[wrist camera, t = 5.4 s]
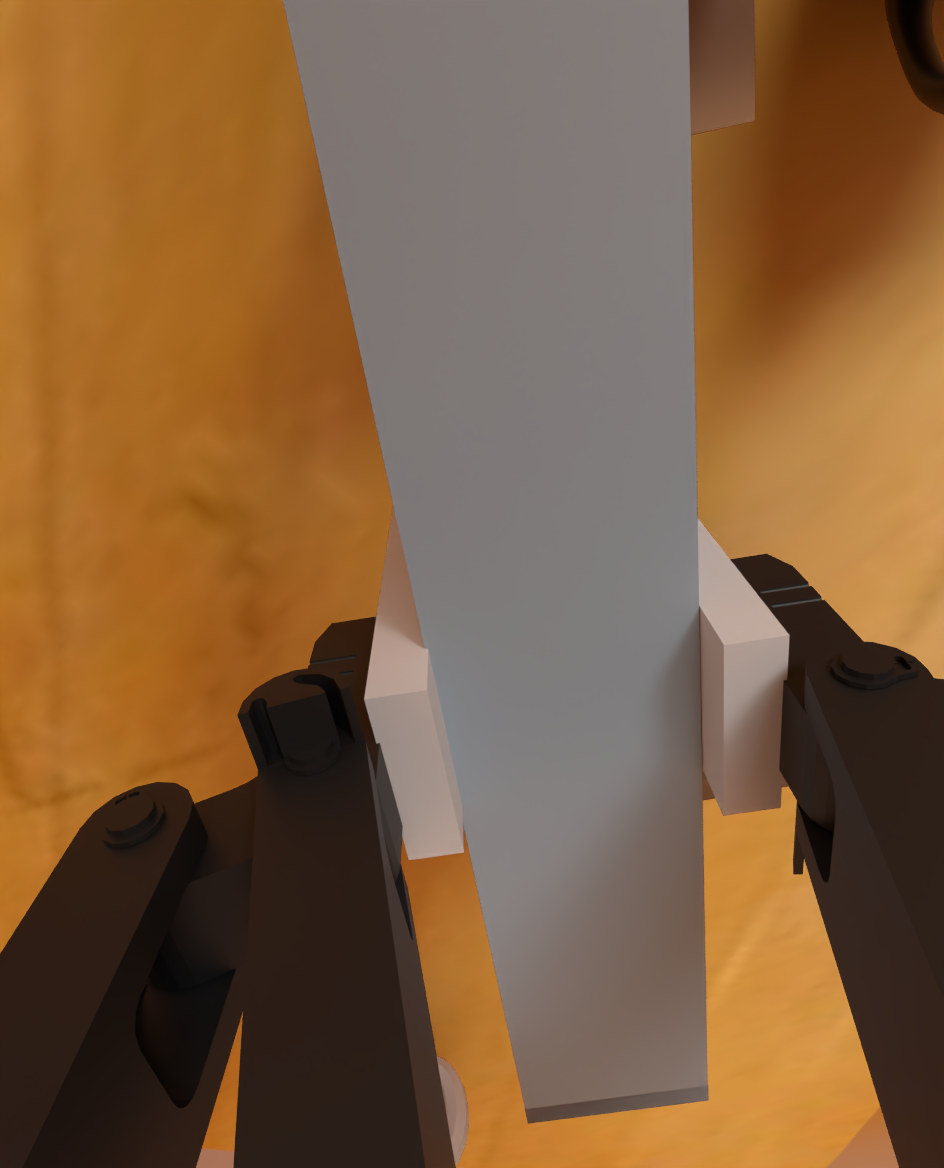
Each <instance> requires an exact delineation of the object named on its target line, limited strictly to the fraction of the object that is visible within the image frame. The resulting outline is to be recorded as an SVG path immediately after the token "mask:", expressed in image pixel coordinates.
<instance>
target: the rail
mask: <svg viewBox="0 0 944 1168" xmlns="http://www.w3.org/2000/svg"><path fill="white" fill-rule="evenodd" d="M283 3H284V7H285V12H286V16H287V21H288V26H289V30H290V35H291V39H292V44H293V48H294V53H295V58H296V62H297V67H298V71H299V76H300V80H301V85H302V90H303V94H304V99H305V103H306V108H307V112H308V117H309V122H310V126H311V131H312V135H313V140H314V144H315V149H316V154H317V158H318V163H319V167H320V172H321V176H322V181H323V186H324V190H325V195H326V199H327V204H328V208H329V213H330V218H331V222H332V227H333V231H334V236H335V240H336V245H337V250H338V254H339V259H340V263H341V268H342V273H343V277H344V282H345V286H346V291H347V295H348V300H349V305H350V309H351V314H352V318H353V323H354V327H355V332H356V337H357V341H358V346H359V350H360V355H361V359H362V364H363V369H364V373H365V378H366V382H367V387H368V391H369V396H370V401H371V405H372V410H373V414H374V419H375V423H376V428H377V433H378V437H379V442H380V446H381V451H382V455H383V460H384V465H385V469H386V474H387V478H388V483H389V488H390V492H391V497H392V501H393V506H394V510H395V515H396V520H397V524H398V529H399V533H400V538H401V542H402V547H403V552H404V556H405V561H406V565H407V570H408V574H409V579H410V584H411V588H412V593H413V597H414V602H415V606H416V611H417V616H418V620H419V625H420V629H421V634H422V638H423V643H424V648H425V649H428V650H429V655H430V659H431V664H432V668H433V673H434V678H435V682H436V687H437V691H438V696H439V701H440V705H441V710H442V714H443V719H444V724H445V728H446V733H447V738H448V742H449V747H450V751H451V756H452V761H453V765H454V770H455V774H456V779H457V784H458V788H459V793H460V797H461V802H462V812H463V826H464V831H465V835H466V840H467V844H468V849H469V853H470V858H471V863H472V867H473V872H474V876H475V881H476V885H477V890H478V895H479V899H480V904H481V908H482V913H483V917H484V922H485V927H486V931H487V936H488V940H489V945H490V949H491V954H492V959H493V963H494V968H495V972H496V977H497V982H498V986H499V991H500V995H501V1000H502V1004H503V1009H504V1014H505V1018H506V1023H507V1027H508V1032H509V1036H510V1041H511V1046H512V1050H513V1055H514V1059H515V1064H516V1068H517V1073H518V1078H519V1082H520V1087H521V1091H522V1096H523V1100H524V1105H525V1112H526V1117H527V1121H528V1123H535V1122H543V1121H551V1120H559V1119H567V1118H574V1117H582V1116H590V1115H598V1114H606V1113H614V1112H621V1111H629V1110H637V1109H645V1108H653V1107H660V1106H668V1105H676V1104H684V1103H692V1102H699V1101H707V1100H708V1080H707V1024H706V967H705V911H704V854H703V798H702V742H701V685H700V629H699V572H698V516H697V459H696V403H695V346H694V290H693V233H692V177H691V121H690V64H689V8H688V0H283Z"/></svg>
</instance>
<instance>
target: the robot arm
mask: <svg viewBox="0 0 944 1168" xmlns="http://www.w3.org/2000/svg"><path fill="white" fill-rule="evenodd" d="M698 572H699V629H700V685H701V742H702V769H703V772H704V774H705V776H706V778H707V780H708V783H709V785H710V787H711V789H712V791H713V794H714V796H715V798H716V800H717V803H718V805H719V807H720V809H721V811H722V814H723V816H725V815H732V814H739V813H746V812H753V811H760V810H767V809H774V808H781V789H782V775H783V777H784V779H785V780H786V782H787V784H788V786H789V787H790V789H791V791H792V792H793V794H794V796H795V798H796V799H797V808H796V823H795V838H794V854H793V874H803V863H804V859H805V862H806V866H807V869H808V872H809V875H810V879H811V882H812V885H813V888H814V892H815V895H816V898H817V902H818V905H819V908H820V911H821V915H822V918H823V921H824V924H825V928H826V931H827V934H828V937H829V941H830V944H831V947H832V950H833V954H834V957H835V960H836V963H837V967H838V970H839V973H840V976H841V980H842V983H843V986H844V989H845V993H846V996H847V999H848V1002H849V1006H850V1009H851V1012H852V1015H853V1019H854V1022H855V1025H856V1028H857V1032H858V1035H859V1038H860V1041H861V1045H862V1048H863V1051H864V1054H865V1058H866V1061H867V1064H868V1067H869V1071H870V1074H871V1077H872V1081H873V1084H874V1087H875V1090H876V1094H877V1097H878V1100H879V1103H880V1107H881V1110H882V1113H883V1116H884V1119H885V1123H886V1126H887V1129H888V1133H889V1136H890V1139H891V1142H892V1146H893V1149H894V1152H895V1155H896V1158H897V1162H898V1165H899V1168H944V679H935V678H933V676H932V675H931V673H930V672H929V670H928V669H927V668H926V667H925V666H924V665H923V664H922V663H921V662H920V661H919V660H917V659H916V658H915V657H914V656H912V655H909V654H907V653H905V652H903V651H901V650H899V649H897V648H894V647H890V646H886V645H882V644H878V643H874V642H863V641H862V639H861V638H860V637H859V636H858V635H857V634H856V633H855V632H854V631H853V630H852V629H851V628H850V627H849V626H848V625H847V623H846V622H845V621H844V620H843V619H842V618H841V617H840V616H839V615H838V614H837V613H836V612H835V611H834V610H833V609H832V607H831V606H830V605H829V604H828V603H827V602H826V601H825V600H822V599H821V596H820V595H819V594H818V593H817V591H816V590H815V589H814V588H813V587H812V586H809V585H808V582H807V581H806V580H805V579H804V578H803V577H802V575H801V574H800V573H799V572H798V571H797V570H796V569H795V568H794V567H793V566H791V565H789V564H787V563H785V562H783V561H781V560H779V559H776V558H774V557H772V556H770V555H768V554H762V555H756V556H749V557H743V558H736V559H729V557H728V556H727V555H726V554H725V552H724V551H723V550H722V549H721V547H720V546H719V545H718V543H717V542H716V541H715V540H714V538H713V537H712V536H711V534H710V533H709V532H708V531H707V529H706V528H705V527H704V526H703V524H702V523H701V522H700V520H699V519H698ZM238 718H239V721H240V723H241V726H242V728H243V731H244V734H245V736H246V739H247V742H248V744H249V747H250V749H251V752H252V755H253V757H254V760H255V763H256V765H257V768H258V776H257V777H255V778H254V779H252V780H251V781H249V782H247V783H245V784H243V785H241V786H239V787H237V788H234V789H232V790H230V791H227V792H224V793H222V794H219V795H216V796H214V797H211V798H208V799H206V800H203V801H200V802H198V803H195V804H194V802H193V800H192V798H191V795H190V793H189V791H188V789H186V788H184V787H182V786H180V785H178V784H176V783H166V782H155V783H151V784H147V785H143V786H138V787H135V788H133V789H131V790H128V791H127V792H124V793H122V794H120V795H118V796H116V797H114V798H113V799H111V800H110V801H108V802H107V803H106V804H104V805H103V806H102V807H100V808H99V809H98V810H96V811H95V812H94V813H93V814H92V815H91V816H90V818H89V819H88V820H87V821H86V822H85V823H84V825H83V826H82V827H81V828H80V829H79V831H78V833H77V834H76V836H75V837H74V839H73V840H72V842H71V844H70V845H69V847H68V848H67V850H66V851H65V853H64V855H63V856H62V858H61V859H60V861H59V862H58V864H57V866H56V867H55V869H54V870H53V872H52V873H51V875H50V877H49V878H48V880H47V881H46V883H45V884H44V886H43V888H42V889H41V891H40V892H39V894H38V895H37V897H36V899H35V900H34V902H33V903H32V905H31V906H30V908H29V910H28V911H27V913H26V914H25V916H24V917H23V919H22V921H21V922H20V924H19V925H18V927H17V928H16V930H15V932H14V933H13V935H12V936H11V938H10V939H9V941H8V943H7V944H6V946H5V947H4V949H3V950H2V952H1V954H0V1168H196V1165H197V1162H198V1158H199V1155H200V1152H201V1149H202V1145H203V1142H204V1139H205V1135H206V1132H207V1129H208V1125H209V1122H210V1119H211V1115H212V1112H213V1109H214V1105H215V1102H216V1099H217V1095H218V1092H219V1089H220V1085H221V1082H222V1079H223V1075H224V1072H225V1069H226V1065H227V1062H228V1059H229V1055H230V1052H231V1049H232V1045H233V1042H234V1039H235V1035H236V1032H237V1029H238V1025H239V1022H240V1019H241V1016H242V1012H243V1022H242V1038H241V1055H240V1071H239V1087H238V1104H237V1120H236V1136H235V1152H234V1168H456V1166H455V1160H454V1155H453V1149H452V1143H451V1137H450V1131H449V1125H448V1120H447V1114H446V1108H445V1102H444V1096H443V1091H442V1085H441V1079H440V1073H439V1067H438V1062H437V1056H436V1050H435V1044H434V1038H433V1033H432V1027H431V1021H430V1015H429V1009H428V1004H427V998H426V992H425V986H424V980H423V974H422V969H421V963H420V957H419V951H418V945H417V940H416V934H415V928H414V922H413V916H412V911H411V905H410V899H409V893H408V887H407V884H406V881H405V877H404V874H403V870H402V867H401V846H402V838H403V841H404V845H405V849H406V852H407V856H408V859H409V860H415V859H422V858H429V857H436V856H443V855H450V854H457V853H464V839H463V812H462V802H461V797H460V793H459V788H458V784H457V779H456V774H455V770H454V765H453V761H452V756H451V751H450V747H449V742H448V738H447V733H446V728H445V724H444V719H443V714H442V710H441V705H440V701H439V696H438V691H437V687H436V682H435V678H434V673H433V668H432V664H431V659H430V655H429V650H428V649H425V648H424V643H423V638H422V634H421V629H420V625H419V620H418V616H417V611H416V606H415V602H414V597H413V593H412V588H411V584H410V579H409V574H408V570H407V565H406V561H405V556H404V552H403V547H402V542H401V538H400V533H399V529H398V524H397V520H396V515H395V510H394V506H393V509H392V515H391V522H390V529H389V536H388V542H387V549H386V556H385V562H384V569H383V576H382V583H381V589H380V596H379V603H378V609H377V616H376V617H371V618H364V619H358V620H351V621H345V622H339V623H332V624H331V625H330V626H329V627H328V629H327V630H326V631H325V632H324V633H323V634H322V635H321V636H320V637H319V638H318V640H317V641H316V642H315V644H314V648H313V651H312V655H311V659H310V665H309V666H308V669H301V670H294V671H291V672H289V673H286V674H283V675H280V676H277V677H275V678H273V679H271V680H269V681H268V682H266V683H264V684H263V685H261V686H259V687H258V688H256V689H255V690H254V691H253V692H252V693H251V694H250V695H249V696H248V697H247V698H246V699H245V700H244V701H243V703H242V705H241V708H240V710H239V713H238Z"/></svg>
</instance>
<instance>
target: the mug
mask: <svg viewBox="0 0 944 1168" xmlns="http://www.w3.org/2000/svg"><path fill="white" fill-rule="evenodd" d="M933 2H934V0H885V8H886V15H887V20H888V25H889V28H890V32H891V35H892V38H893V42H894V45H895V48H896V51H897V54H898V57H899V60H900V62H901V65H902V68H903V70H904V73H905V75H906V78H907V80H908V82H909V84H910V86H911V88H912V90H913V91H914V93H915V95H916V96H917V98H918V99H919V100H920V101H921V102H922V103H924V104H925V105H926V106H928V107H929V108H930V109H932V110H933V111H936V112H938V113H941V114H943V115H944V64H943V62H942V60H941V57H940V54H939V52H938V49H937V46H936V43H935V39H934V35H933V29H932V7H933Z"/></svg>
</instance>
